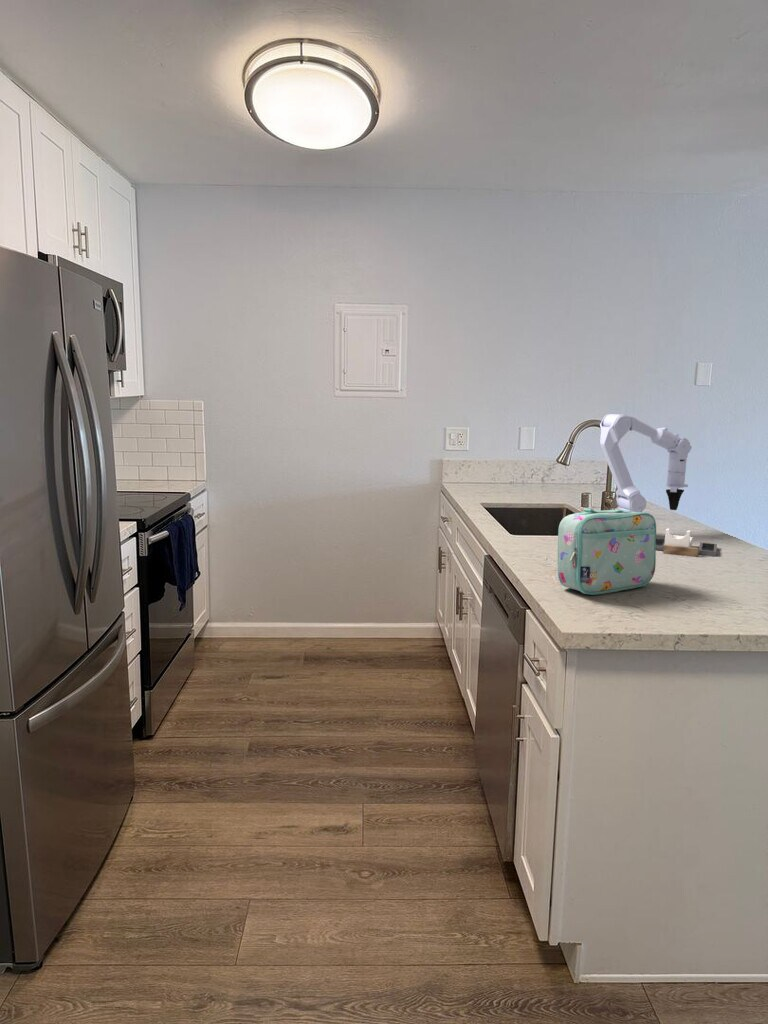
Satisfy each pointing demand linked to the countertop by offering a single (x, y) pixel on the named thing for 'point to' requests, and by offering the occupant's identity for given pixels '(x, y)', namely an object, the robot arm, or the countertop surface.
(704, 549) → the trap pits
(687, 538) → the bracket
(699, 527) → the countertop surface
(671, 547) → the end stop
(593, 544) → the lunch box
